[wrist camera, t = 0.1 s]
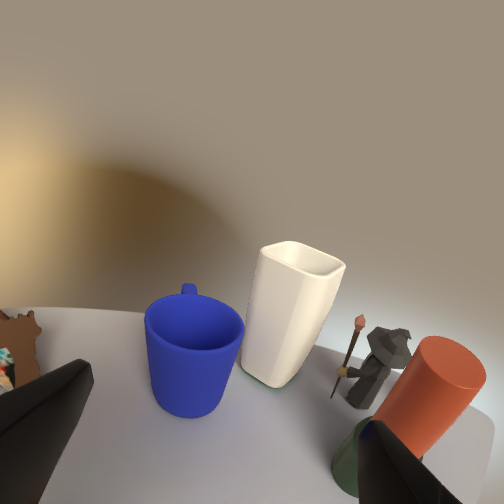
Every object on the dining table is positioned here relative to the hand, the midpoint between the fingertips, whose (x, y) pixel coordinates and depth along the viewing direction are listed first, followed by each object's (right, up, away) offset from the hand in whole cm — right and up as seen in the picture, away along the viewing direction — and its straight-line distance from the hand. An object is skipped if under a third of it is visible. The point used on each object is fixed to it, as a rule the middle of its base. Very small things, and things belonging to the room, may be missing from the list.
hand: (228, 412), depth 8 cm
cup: (+3, -10, +25) cm, 27 cm away
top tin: (+13, -12, +11) cm, 21 cm away
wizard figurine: (+12, -13, +22) cm, 28 cm away
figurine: (-20, -4, +12) cm, 23 cm away
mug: (-6, -9, +20) cm, 23 cm away
